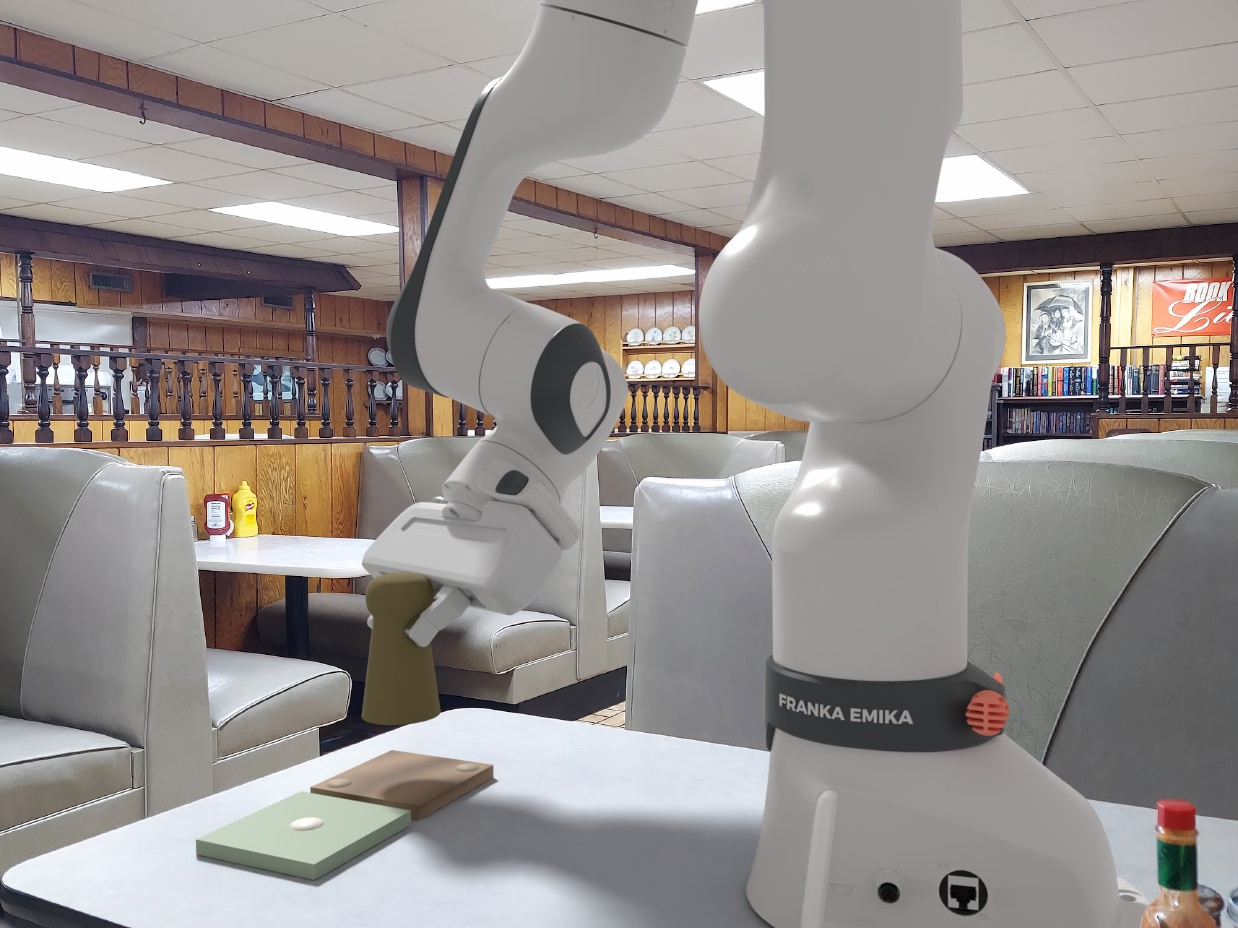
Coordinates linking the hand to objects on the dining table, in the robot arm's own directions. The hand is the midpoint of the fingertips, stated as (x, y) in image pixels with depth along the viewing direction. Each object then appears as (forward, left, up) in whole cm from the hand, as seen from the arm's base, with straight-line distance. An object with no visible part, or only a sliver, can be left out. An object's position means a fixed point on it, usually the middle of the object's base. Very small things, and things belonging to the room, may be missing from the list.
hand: (393, 635), depth 81 cm
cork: (0, -1, -6) cm, 6 cm away
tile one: (0, +11, -12) cm, 16 cm away
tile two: (0, 0, -12) cm, 12 cm away
